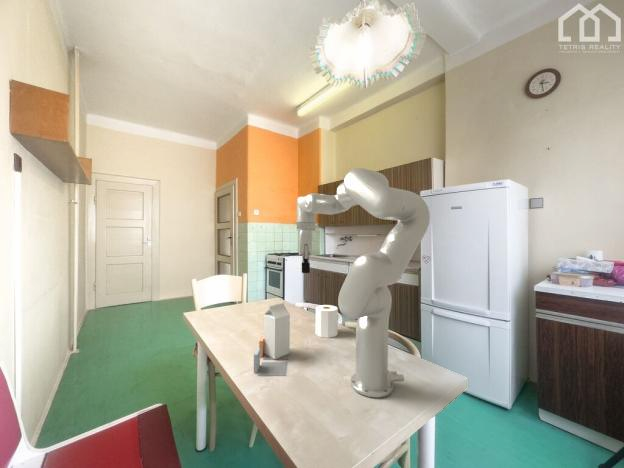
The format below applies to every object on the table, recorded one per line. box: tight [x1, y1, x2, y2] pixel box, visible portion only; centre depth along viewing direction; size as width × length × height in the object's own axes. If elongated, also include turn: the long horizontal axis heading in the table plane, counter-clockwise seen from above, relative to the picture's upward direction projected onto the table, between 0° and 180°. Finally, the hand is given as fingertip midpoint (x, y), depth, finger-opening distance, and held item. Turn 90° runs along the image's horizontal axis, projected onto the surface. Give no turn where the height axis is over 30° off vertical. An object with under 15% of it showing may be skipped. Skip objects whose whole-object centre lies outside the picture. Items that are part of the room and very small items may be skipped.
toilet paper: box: [315, 304, 339, 339], centre depth 122 cm, size 10×10×12 cm
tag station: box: [253, 335, 289, 377], centre depth 95 cm, size 11×20×6 cm, turn 2°
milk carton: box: [263, 302, 291, 359], centre depth 101 cm, size 7×7×19 cm
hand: (305, 272), depth 106 cm, fingers closed
